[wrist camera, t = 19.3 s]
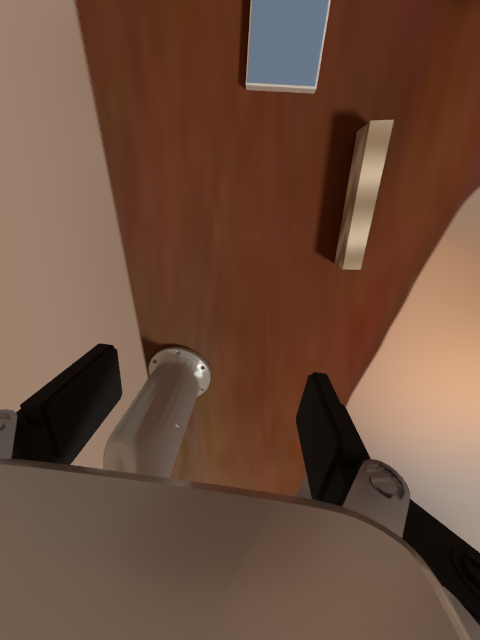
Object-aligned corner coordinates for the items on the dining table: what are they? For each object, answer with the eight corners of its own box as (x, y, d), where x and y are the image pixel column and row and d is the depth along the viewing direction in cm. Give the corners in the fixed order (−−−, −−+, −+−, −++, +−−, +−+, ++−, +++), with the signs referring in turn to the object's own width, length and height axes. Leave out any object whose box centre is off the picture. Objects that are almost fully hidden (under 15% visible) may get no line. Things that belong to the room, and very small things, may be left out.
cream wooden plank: (350, 263, 35) (360, 269, 31) (334, 263, 35) (342, 269, 31) (376, 131, 28) (393, 119, 24) (356, 132, 28) (370, 120, 24)
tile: (316, 88, 25) (340, -57, 21) (245, 84, 26) (254, -60, 21) (313, 95, 27) (334, -38, 22) (246, 91, 27) (254, -41, 23)
